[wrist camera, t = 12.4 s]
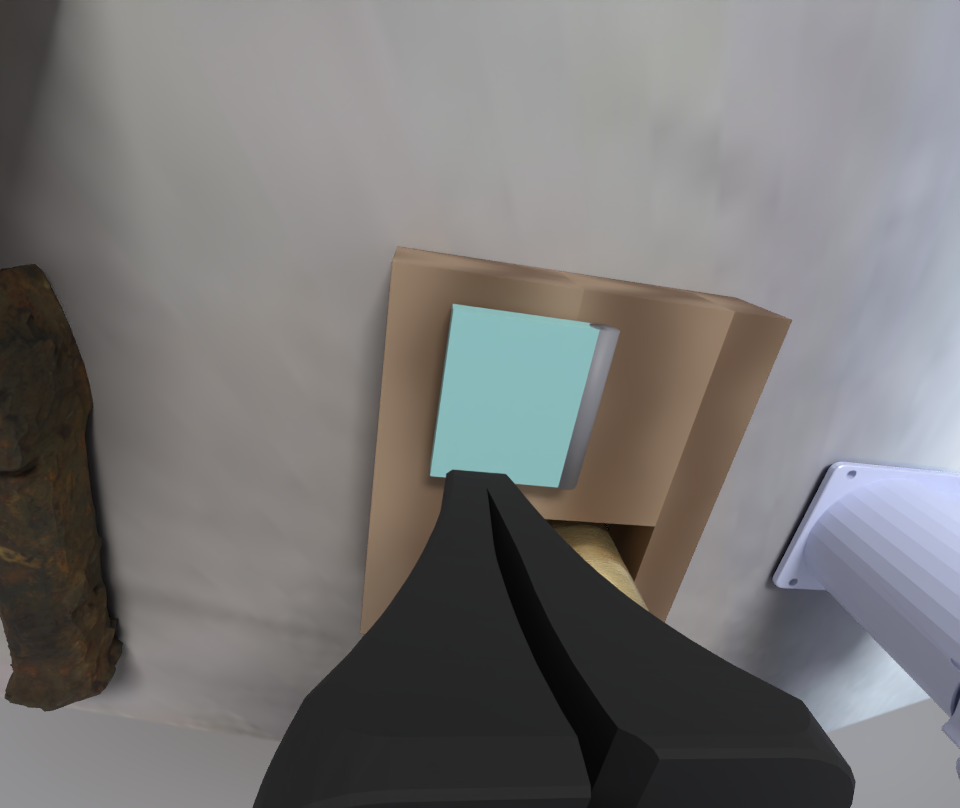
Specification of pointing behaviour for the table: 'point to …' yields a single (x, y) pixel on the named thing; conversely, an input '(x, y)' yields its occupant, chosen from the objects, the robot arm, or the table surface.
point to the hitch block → (618, 424)
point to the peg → (598, 553)
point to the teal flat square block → (520, 395)
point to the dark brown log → (48, 506)
